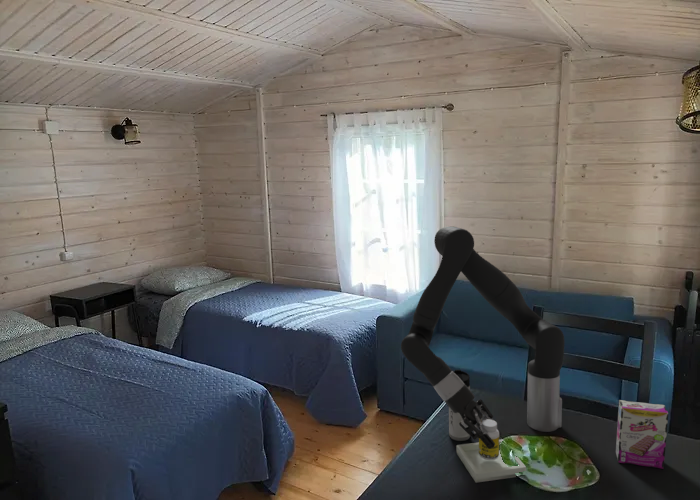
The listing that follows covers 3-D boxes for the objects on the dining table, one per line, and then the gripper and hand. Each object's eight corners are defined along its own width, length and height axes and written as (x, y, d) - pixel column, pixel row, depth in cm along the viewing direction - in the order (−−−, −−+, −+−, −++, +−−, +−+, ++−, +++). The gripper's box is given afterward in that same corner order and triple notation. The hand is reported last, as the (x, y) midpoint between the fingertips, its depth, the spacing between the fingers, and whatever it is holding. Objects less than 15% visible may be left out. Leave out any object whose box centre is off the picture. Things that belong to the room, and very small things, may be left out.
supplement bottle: (479, 460, 140) (479, 427, 138) (477, 449, 145) (478, 417, 144) (500, 461, 139) (500, 428, 137) (497, 450, 144) (498, 418, 143)
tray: (502, 447, 150) (502, 439, 150) (525, 475, 137) (526, 466, 136) (456, 453, 148) (456, 445, 148) (475, 482, 135) (475, 473, 134)
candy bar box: (618, 463, 140) (620, 407, 137) (615, 453, 145) (617, 399, 142) (665, 470, 136) (669, 412, 133) (660, 459, 141) (664, 403, 138)
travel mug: (468, 430, 161) (468, 369, 157) (471, 441, 154) (471, 378, 151) (448, 429, 161) (447, 369, 158) (450, 441, 155) (449, 378, 151)
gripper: (453, 395, 137) (498, 448, 133) (471, 374, 149) (512, 422, 145) (435, 409, 140) (478, 461, 136) (453, 388, 152) (493, 435, 148)
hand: (495, 441), depth 140 cm, fingers closed on supplement bottle, 5 cm apart
